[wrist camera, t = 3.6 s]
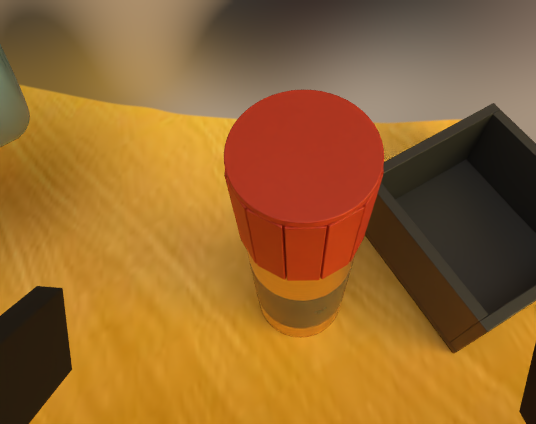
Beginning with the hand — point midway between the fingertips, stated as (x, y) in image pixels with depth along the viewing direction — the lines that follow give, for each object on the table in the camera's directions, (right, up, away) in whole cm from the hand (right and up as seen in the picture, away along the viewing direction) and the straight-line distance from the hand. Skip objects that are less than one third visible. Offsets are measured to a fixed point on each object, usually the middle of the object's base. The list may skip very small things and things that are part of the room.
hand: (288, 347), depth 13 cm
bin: (+16, +1, +27) cm, 31 cm away
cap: (+1, +3, +13) cm, 14 cm away
